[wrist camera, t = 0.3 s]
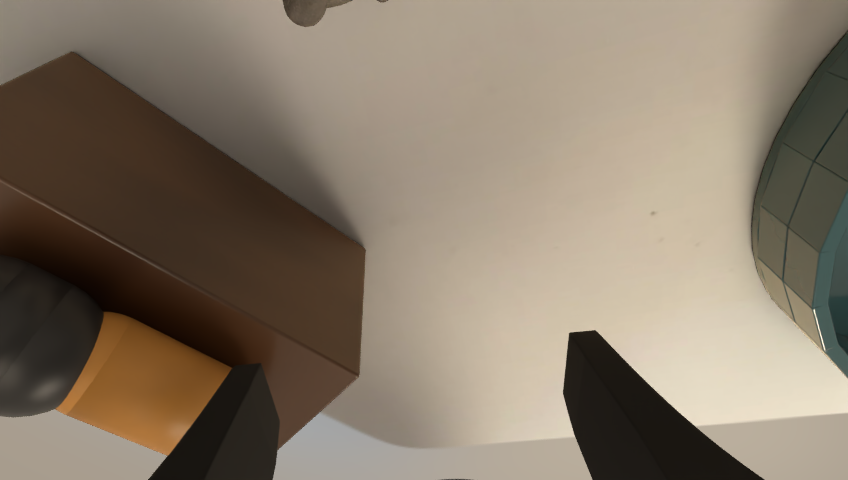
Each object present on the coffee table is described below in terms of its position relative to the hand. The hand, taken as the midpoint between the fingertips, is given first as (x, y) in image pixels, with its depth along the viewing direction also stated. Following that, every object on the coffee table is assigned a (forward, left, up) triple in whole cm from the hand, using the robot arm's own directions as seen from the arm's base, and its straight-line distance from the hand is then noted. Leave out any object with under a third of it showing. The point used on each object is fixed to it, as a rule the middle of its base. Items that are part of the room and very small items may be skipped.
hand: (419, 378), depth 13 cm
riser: (0, +8, -10) cm, 12 cm away
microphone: (-1, +7, -2) cm, 8 cm away
